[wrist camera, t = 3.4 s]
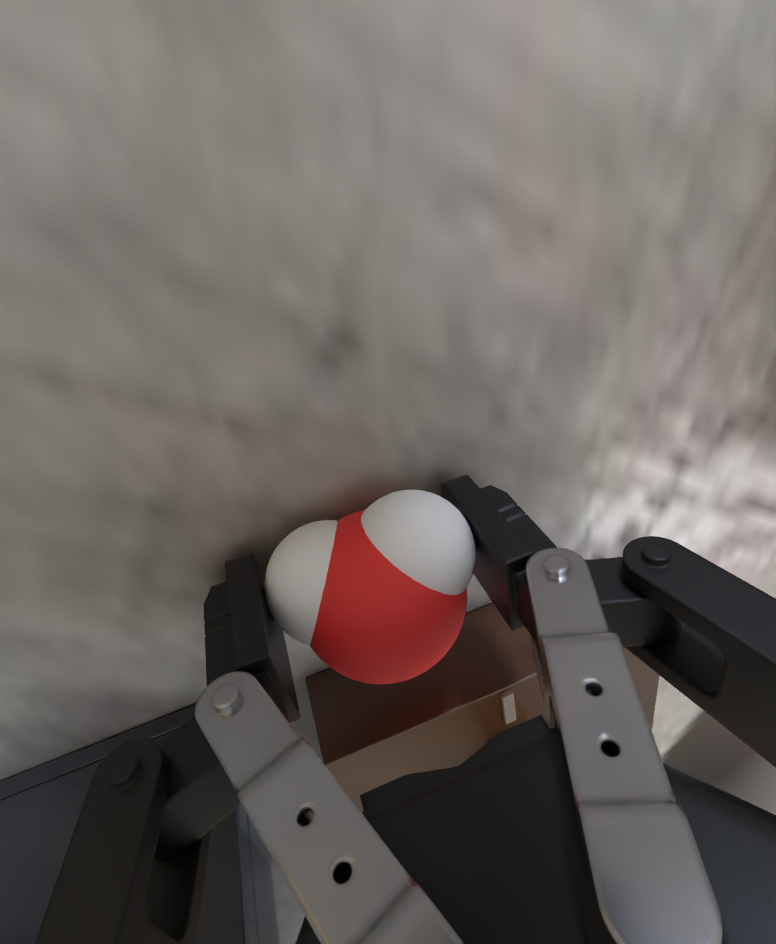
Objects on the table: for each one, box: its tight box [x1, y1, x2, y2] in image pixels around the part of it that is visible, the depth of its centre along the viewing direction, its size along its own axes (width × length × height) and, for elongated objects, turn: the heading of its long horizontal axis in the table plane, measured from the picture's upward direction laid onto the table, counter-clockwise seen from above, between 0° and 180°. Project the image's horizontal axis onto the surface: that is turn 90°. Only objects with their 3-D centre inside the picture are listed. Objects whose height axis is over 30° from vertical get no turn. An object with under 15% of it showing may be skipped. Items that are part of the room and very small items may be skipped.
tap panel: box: [306, 558, 659, 812], centre depth 20 cm, size 10×11×3 cm
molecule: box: [264, 490, 476, 684], centre depth 13 cm, size 5×5×4 cm
